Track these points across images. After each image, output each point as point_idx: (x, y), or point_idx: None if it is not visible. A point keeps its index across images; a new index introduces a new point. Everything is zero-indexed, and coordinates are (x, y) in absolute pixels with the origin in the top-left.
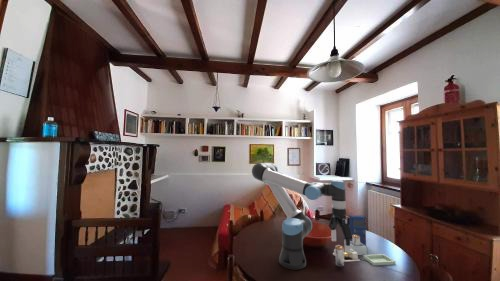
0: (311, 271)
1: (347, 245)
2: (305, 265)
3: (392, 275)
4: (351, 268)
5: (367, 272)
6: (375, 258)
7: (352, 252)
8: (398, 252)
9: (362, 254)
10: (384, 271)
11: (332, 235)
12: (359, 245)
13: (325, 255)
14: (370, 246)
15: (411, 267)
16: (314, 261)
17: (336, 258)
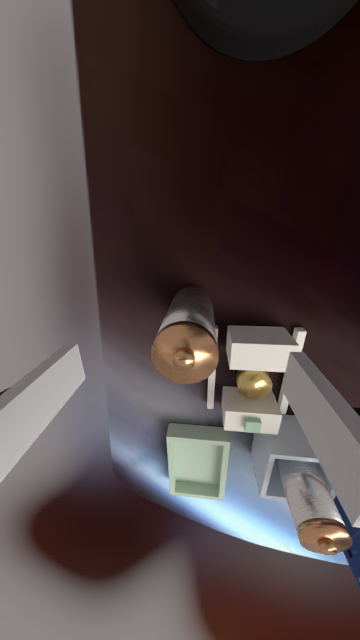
0: (133, 71)
1: (5, 390)
2: (196, 28)
3: (114, 434)
4: None
5: (130, 379)
6: (216, 462)
7: (237, 415)
8: (247, 534)
9: (254, 445)
10: (137, 431)
11: (319, 400)
12: (281, 481)
13: (309, 283)
14: None
15: (158, 500)
16: (256, 162)
17: (185, 297)
